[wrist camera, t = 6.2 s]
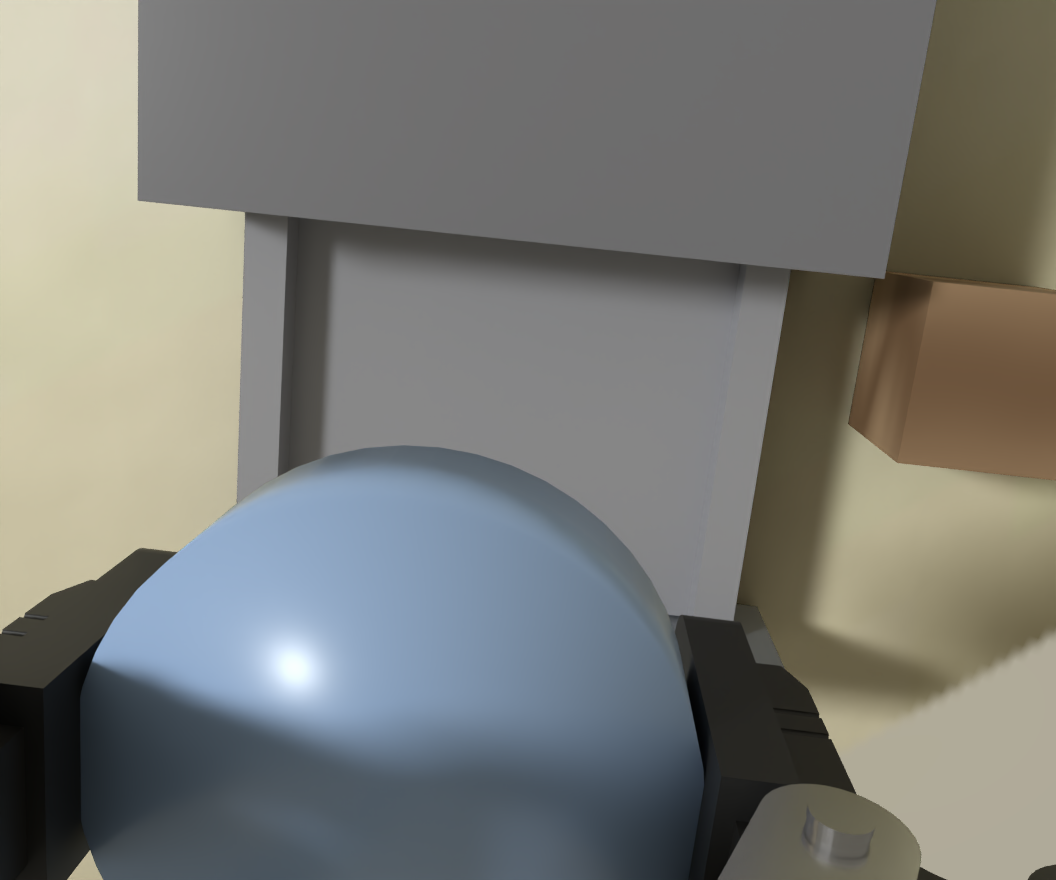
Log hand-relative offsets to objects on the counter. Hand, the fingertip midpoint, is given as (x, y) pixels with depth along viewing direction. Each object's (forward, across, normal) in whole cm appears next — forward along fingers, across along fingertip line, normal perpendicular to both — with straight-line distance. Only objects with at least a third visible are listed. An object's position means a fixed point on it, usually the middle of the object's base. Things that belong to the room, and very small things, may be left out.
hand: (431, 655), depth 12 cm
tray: (+14, 0, -2) cm, 14 cm away
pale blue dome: (-1, 0, 0) cm, 1 cm away
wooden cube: (+14, -11, -3) cm, 18 cm away
